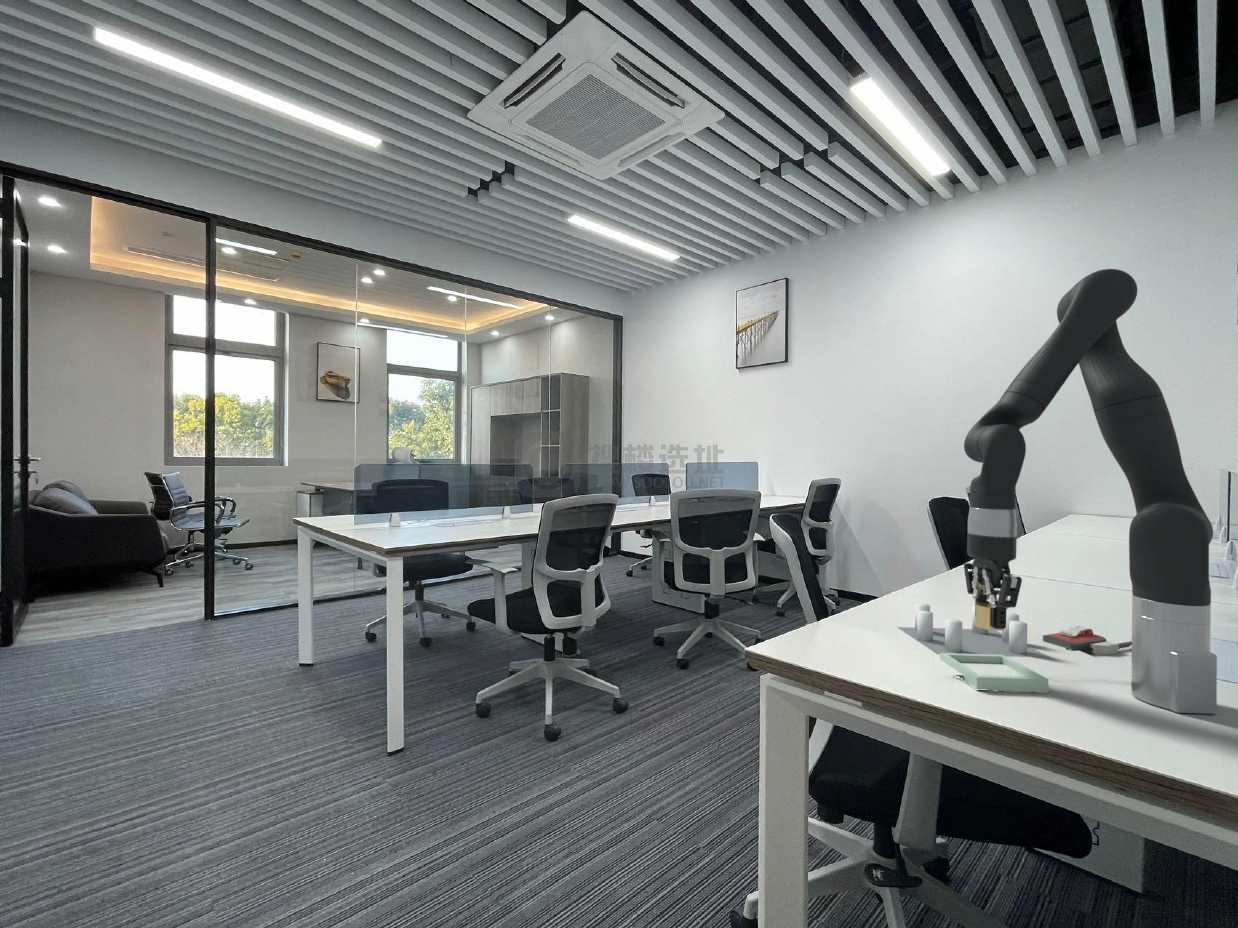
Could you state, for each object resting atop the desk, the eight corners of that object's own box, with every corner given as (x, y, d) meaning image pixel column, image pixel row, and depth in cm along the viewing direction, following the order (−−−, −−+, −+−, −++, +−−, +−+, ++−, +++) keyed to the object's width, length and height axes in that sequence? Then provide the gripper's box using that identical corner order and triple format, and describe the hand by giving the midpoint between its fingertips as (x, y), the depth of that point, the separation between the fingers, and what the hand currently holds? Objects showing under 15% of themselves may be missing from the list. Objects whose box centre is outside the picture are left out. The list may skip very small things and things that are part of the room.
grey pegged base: (1050, 663, 108) (1050, 627, 108) (937, 659, 109) (937, 624, 109) (993, 634, 126) (993, 603, 126) (896, 632, 127) (897, 601, 127)
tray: (1048, 693, 93) (1048, 679, 93) (976, 690, 94) (976, 677, 94) (1003, 667, 105) (1003, 654, 105) (940, 665, 106) (940, 653, 106)
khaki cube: (1011, 631, 98) (1012, 609, 98) (982, 630, 98) (982, 608, 98) (996, 623, 102) (996, 602, 102) (968, 622, 102) (968, 601, 102)
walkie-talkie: (1082, 662, 110) (1141, 650, 116) (1082, 640, 110) (1141, 630, 116) (1036, 648, 118) (1093, 638, 125) (1036, 627, 118) (1093, 619, 125)
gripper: (1040, 538, 93) (1038, 637, 93) (989, 528, 107) (987, 613, 107) (994, 537, 93) (992, 635, 93) (949, 527, 107) (948, 612, 107)
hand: (989, 623), depth 100 cm, fingers closed on khaki cube, 4 cm apart
